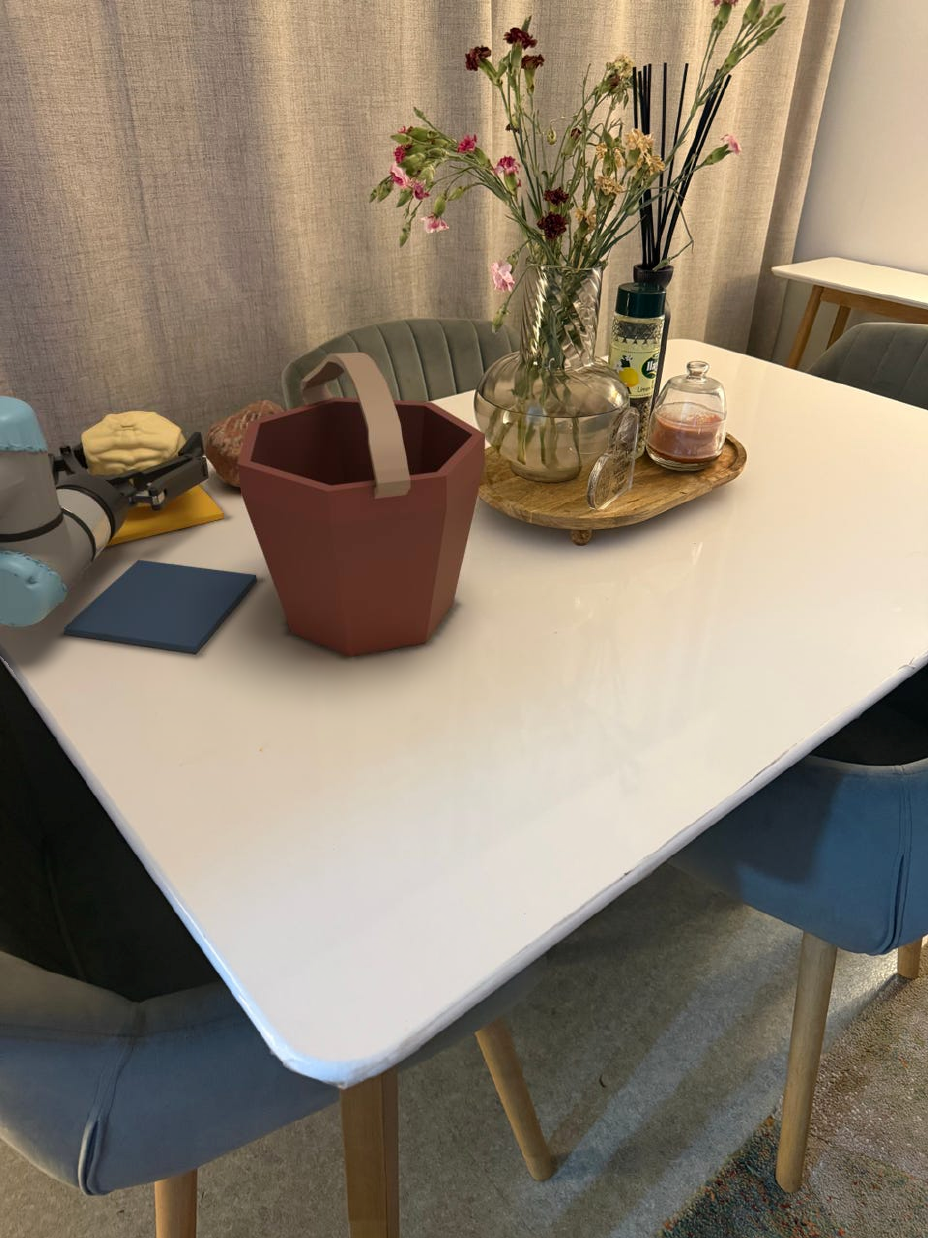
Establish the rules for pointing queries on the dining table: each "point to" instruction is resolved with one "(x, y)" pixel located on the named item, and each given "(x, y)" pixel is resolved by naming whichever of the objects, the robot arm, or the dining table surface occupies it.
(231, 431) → the decorative rock
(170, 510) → the yellow mat
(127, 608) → the blue mat
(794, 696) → the dining table surface
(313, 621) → the bucket
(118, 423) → the sculpture
